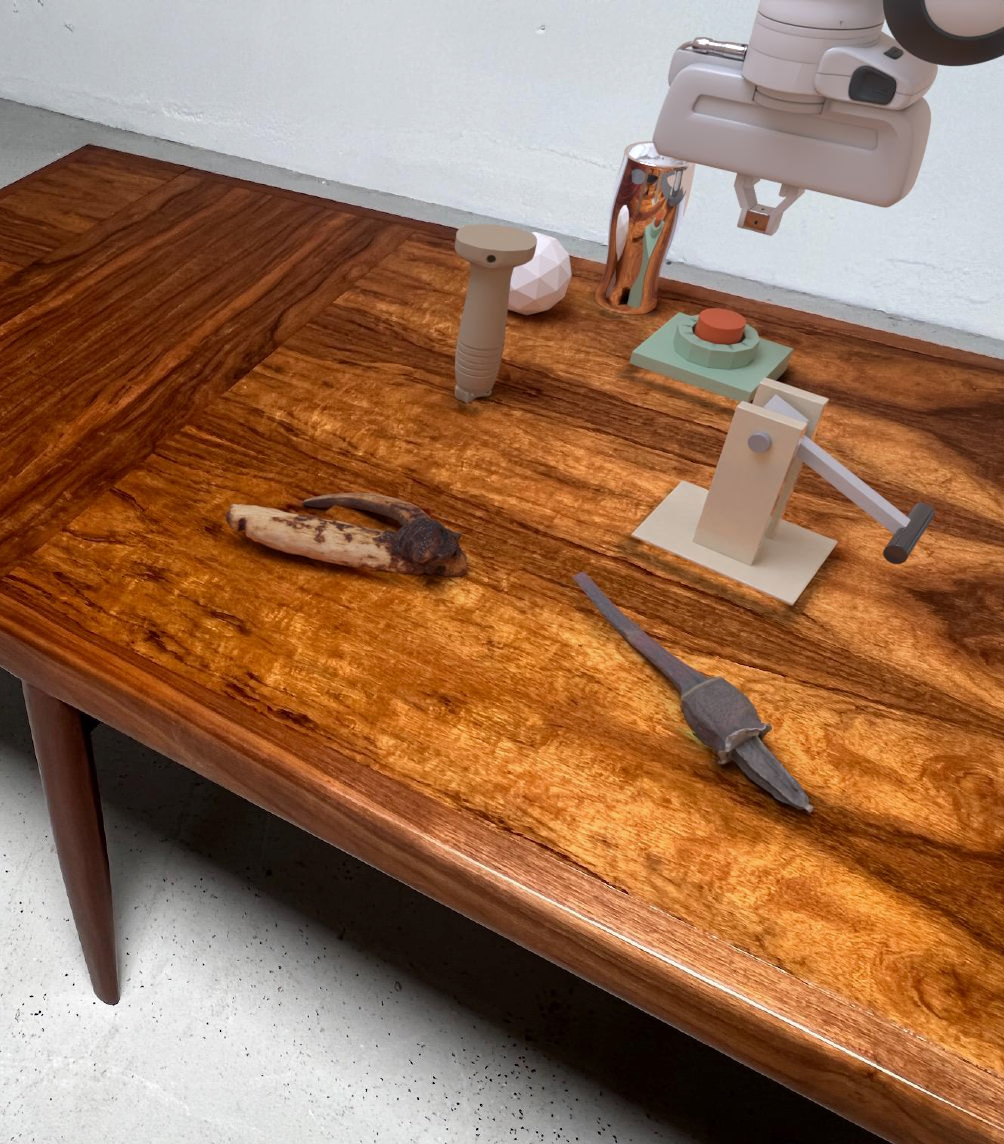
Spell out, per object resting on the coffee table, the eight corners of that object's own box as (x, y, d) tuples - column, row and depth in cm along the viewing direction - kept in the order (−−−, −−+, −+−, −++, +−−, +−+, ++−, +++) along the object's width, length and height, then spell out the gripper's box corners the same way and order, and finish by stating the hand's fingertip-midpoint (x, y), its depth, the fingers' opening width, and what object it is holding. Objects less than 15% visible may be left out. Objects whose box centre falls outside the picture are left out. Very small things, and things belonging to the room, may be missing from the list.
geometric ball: (532, 342, 113) (551, 307, 105) (468, 297, 114) (481, 260, 106) (576, 287, 114) (597, 248, 106) (511, 243, 115) (528, 202, 108)
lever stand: (832, 553, 83) (898, 405, 75) (788, 616, 78) (852, 465, 70) (678, 491, 89) (723, 348, 81) (627, 545, 84) (669, 398, 76)
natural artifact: (778, 839, 65) (763, 816, 62) (571, 586, 81) (551, 559, 78) (835, 801, 64) (823, 777, 62) (615, 554, 80) (597, 525, 77)
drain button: (747, 334, 101) (753, 317, 100) (730, 351, 99) (735, 333, 98) (705, 321, 103) (710, 303, 102) (686, 337, 101) (691, 319, 100)
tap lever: (918, 529, 76) (945, 508, 75) (890, 572, 73) (918, 552, 71) (763, 405, 79) (786, 382, 77) (730, 441, 76) (752, 418, 74)
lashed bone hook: (475, 534, 86) (250, 490, 89) (485, 483, 83) (252, 440, 86) (458, 609, 79) (214, 558, 82) (469, 557, 76) (215, 506, 79)
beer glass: (658, 321, 110) (698, 171, 101) (586, 311, 112) (619, 162, 102) (662, 291, 115) (700, 144, 106) (593, 281, 117) (624, 136, 107)
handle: (505, 417, 97) (533, 254, 88) (432, 406, 99) (451, 244, 89) (511, 389, 101) (539, 230, 91) (440, 379, 102) (461, 220, 93)
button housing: (786, 369, 103) (800, 330, 101) (744, 414, 98) (757, 374, 95) (673, 332, 109) (683, 294, 106) (626, 372, 103) (636, 333, 100)
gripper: (660, 41, 89) (624, 210, 98) (937, 91, 78) (868, 275, 87) (694, 24, 92) (656, 189, 101) (962, 69, 82) (894, 248, 91)
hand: (756, 229), depth 94 cm, fingers closed
